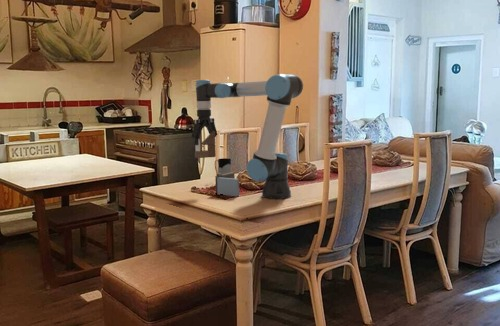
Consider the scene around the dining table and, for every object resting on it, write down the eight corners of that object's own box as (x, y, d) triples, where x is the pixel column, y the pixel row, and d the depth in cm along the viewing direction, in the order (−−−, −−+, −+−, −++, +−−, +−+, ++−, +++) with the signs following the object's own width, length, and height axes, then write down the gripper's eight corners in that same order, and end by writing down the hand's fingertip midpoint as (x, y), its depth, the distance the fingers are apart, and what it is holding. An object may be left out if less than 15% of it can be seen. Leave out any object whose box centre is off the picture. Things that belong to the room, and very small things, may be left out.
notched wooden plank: (234, 190, 293) (234, 170, 291) (217, 194, 281) (217, 174, 279) (231, 189, 294) (231, 170, 292) (214, 194, 282) (214, 174, 280)
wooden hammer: (215, 157, 283) (214, 123, 281) (196, 158, 280) (195, 124, 277) (213, 156, 287) (212, 123, 284) (194, 157, 283) (193, 124, 280)
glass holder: (223, 186, 304) (222, 160, 301) (209, 182, 315) (208, 158, 312) (235, 184, 309) (234, 159, 307) (221, 181, 320) (220, 156, 318)
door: (220, 193, 283) (219, 176, 281) (240, 195, 277) (239, 178, 276) (217, 194, 280) (217, 177, 279) (237, 196, 275) (237, 179, 273)
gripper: (212, 108, 291) (214, 147, 294) (183, 110, 272) (185, 151, 276) (223, 108, 286) (224, 148, 289) (194, 110, 268) (195, 152, 271)
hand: (205, 150), depth 283 cm, fingers closed on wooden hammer, 11 cm apart
